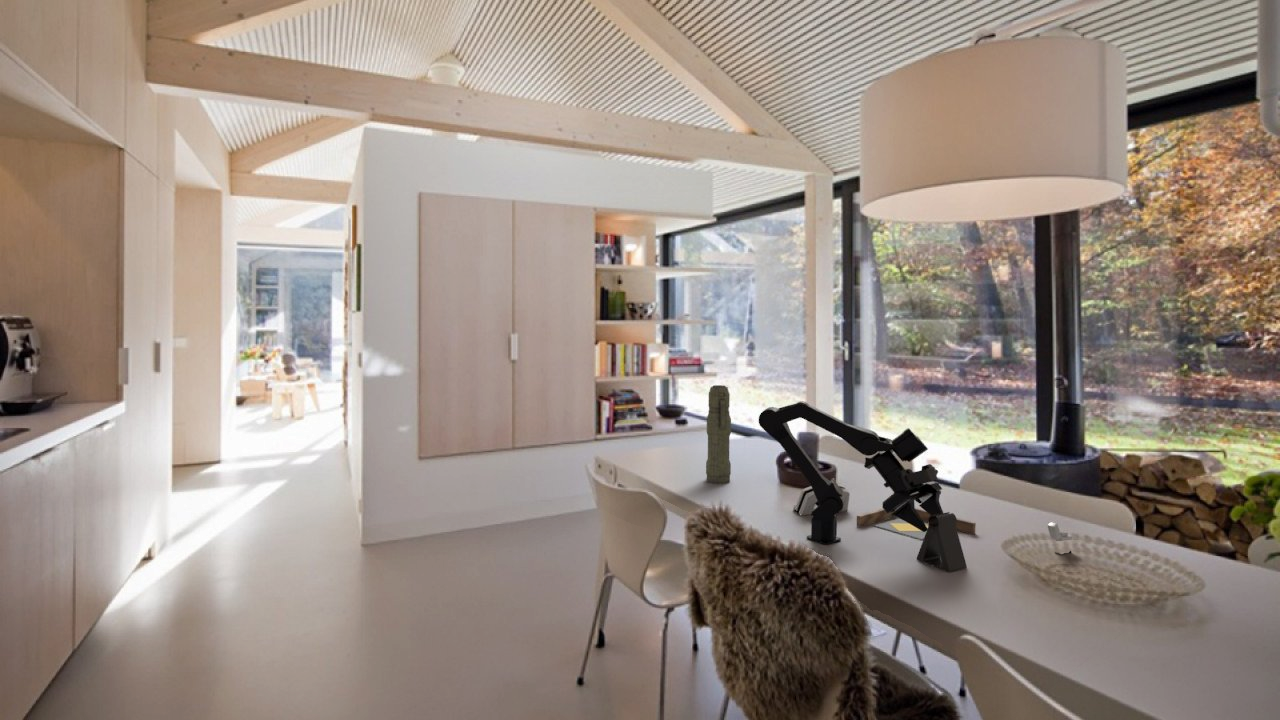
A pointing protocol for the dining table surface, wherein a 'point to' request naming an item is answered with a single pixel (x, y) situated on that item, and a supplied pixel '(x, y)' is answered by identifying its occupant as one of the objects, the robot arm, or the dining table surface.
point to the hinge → (815, 500)
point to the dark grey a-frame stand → (942, 544)
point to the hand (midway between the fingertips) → (935, 527)
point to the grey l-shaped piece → (1058, 533)
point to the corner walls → (882, 515)
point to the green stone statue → (718, 435)
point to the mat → (903, 528)
